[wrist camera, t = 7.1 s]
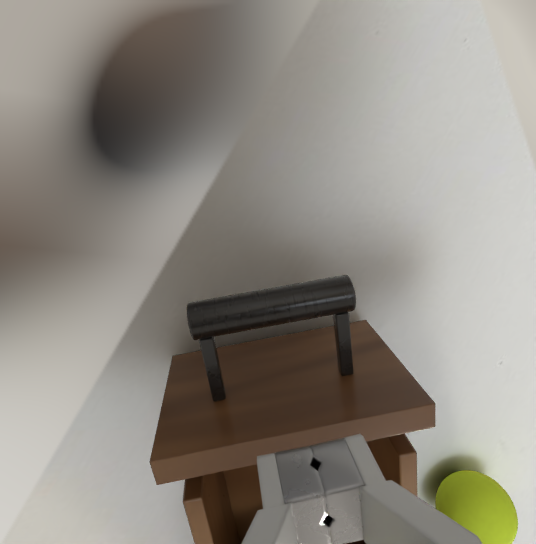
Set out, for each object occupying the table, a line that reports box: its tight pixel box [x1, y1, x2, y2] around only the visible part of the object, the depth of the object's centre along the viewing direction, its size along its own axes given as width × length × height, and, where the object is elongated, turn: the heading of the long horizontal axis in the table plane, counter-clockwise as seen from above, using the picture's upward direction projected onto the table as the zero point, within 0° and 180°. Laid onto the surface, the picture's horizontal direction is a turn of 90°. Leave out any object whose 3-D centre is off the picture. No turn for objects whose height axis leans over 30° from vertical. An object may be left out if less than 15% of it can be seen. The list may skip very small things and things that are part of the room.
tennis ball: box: [435, 470, 518, 544], centre depth 27 cm, size 5×5×5 cm
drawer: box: [150, 275, 435, 544], centre depth 20 cm, size 20×11×8 cm, turn 8°
